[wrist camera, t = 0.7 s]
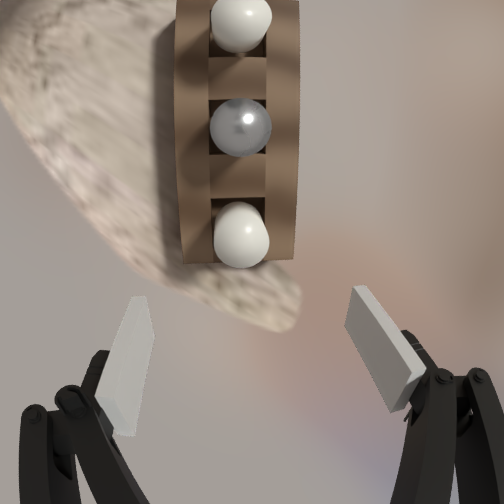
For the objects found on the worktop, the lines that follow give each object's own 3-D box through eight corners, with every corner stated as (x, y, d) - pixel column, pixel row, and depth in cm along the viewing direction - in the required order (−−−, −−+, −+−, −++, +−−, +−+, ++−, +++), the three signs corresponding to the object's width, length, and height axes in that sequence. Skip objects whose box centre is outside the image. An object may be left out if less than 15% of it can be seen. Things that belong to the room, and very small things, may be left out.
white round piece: (212, 11, 19) (211, -8, 15) (263, 11, 19) (271, -7, 15) (211, 53, 21) (210, 40, 17) (263, 53, 21) (272, 40, 17)
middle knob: (211, 102, 23) (209, 98, 19) (263, 102, 23) (271, 98, 19) (212, 151, 25) (210, 157, 21) (263, 151, 25) (271, 156, 21)
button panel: (181, 13, 22) (176, -1, 18) (289, 13, 23) (298, 0, 19) (187, 247, 33) (183, 263, 29) (285, 243, 34) (293, 259, 30)
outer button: (213, 202, 27) (212, 217, 22) (262, 201, 27) (270, 216, 23) (215, 247, 28) (215, 269, 24) (261, 245, 29) (268, 266, 25)
